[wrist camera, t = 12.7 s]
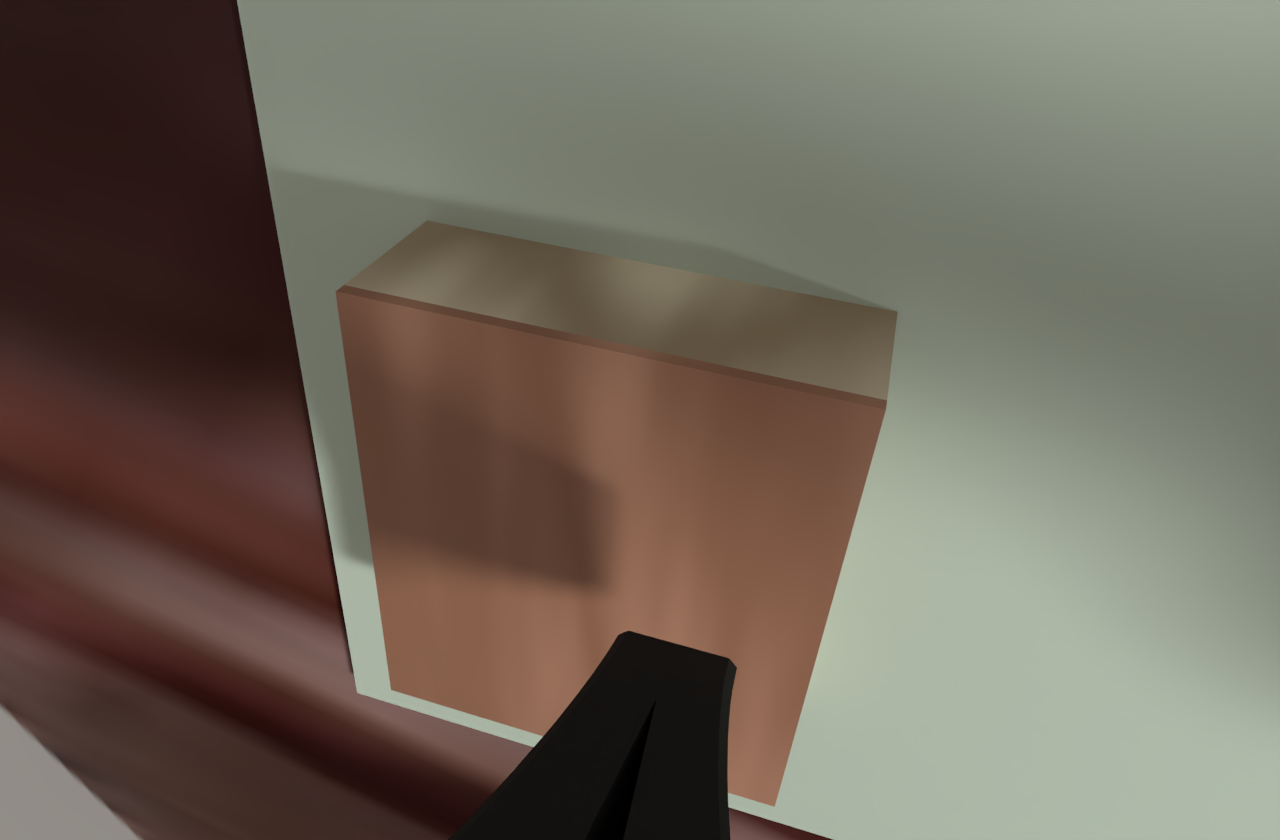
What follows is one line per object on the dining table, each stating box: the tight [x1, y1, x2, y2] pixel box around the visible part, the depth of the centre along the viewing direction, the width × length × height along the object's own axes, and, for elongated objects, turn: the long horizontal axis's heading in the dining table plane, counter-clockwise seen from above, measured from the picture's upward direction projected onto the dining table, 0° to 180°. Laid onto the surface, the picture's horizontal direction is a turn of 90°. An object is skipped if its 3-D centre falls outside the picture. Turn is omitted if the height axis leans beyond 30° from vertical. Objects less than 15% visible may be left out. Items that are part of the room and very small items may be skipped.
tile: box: [335, 221, 898, 807], centre depth 14 cm, size 2×8×7 cm
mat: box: [237, 0, 1280, 840], centre depth 14 cm, size 20×18×1 cm
